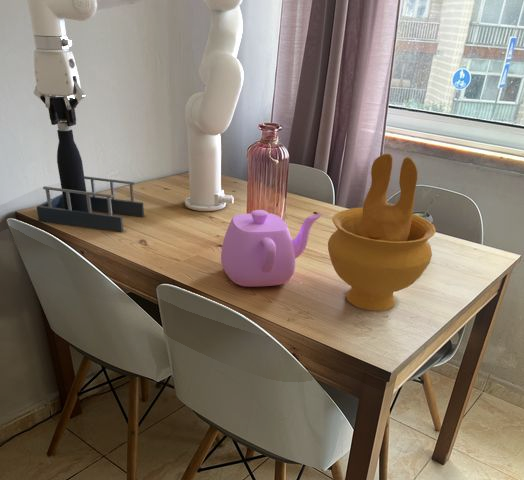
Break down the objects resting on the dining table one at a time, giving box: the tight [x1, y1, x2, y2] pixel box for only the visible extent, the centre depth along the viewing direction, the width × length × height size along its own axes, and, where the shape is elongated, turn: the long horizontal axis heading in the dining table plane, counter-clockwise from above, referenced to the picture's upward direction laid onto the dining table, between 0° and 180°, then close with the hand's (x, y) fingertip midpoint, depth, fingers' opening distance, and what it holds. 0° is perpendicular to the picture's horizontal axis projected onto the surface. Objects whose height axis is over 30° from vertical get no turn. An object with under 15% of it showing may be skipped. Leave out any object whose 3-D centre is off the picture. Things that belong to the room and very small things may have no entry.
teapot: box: [220, 209, 323, 287], centre depth 121 cm, size 23×21×15 cm
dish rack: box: [36, 175, 145, 233], centre depth 152 cm, size 25×14×10 cm, turn 76°
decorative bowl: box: [327, 153, 437, 312], centre depth 111 cm, size 21×21×30 cm
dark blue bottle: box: [52, 96, 88, 212], centre depth 147 cm, size 6×6×30 cm
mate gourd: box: [412, 193, 444, 242], centre depth 144 cm, size 8×8×15 cm
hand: (63, 123), depth 142 cm, fingers closed on dark blue bottle, 3 cm apart
